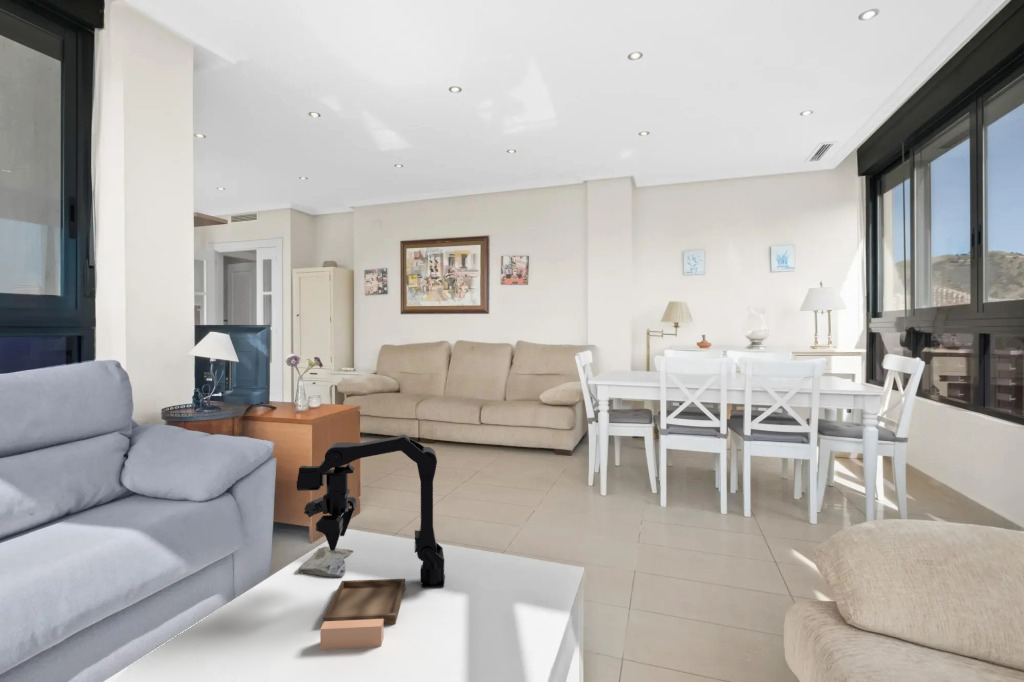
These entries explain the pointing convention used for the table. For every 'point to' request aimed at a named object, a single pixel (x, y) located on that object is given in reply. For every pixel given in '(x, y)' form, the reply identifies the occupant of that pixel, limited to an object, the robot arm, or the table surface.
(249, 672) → the table surface
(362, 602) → the tray
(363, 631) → the light brown rectangular block
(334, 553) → the fossil rock
